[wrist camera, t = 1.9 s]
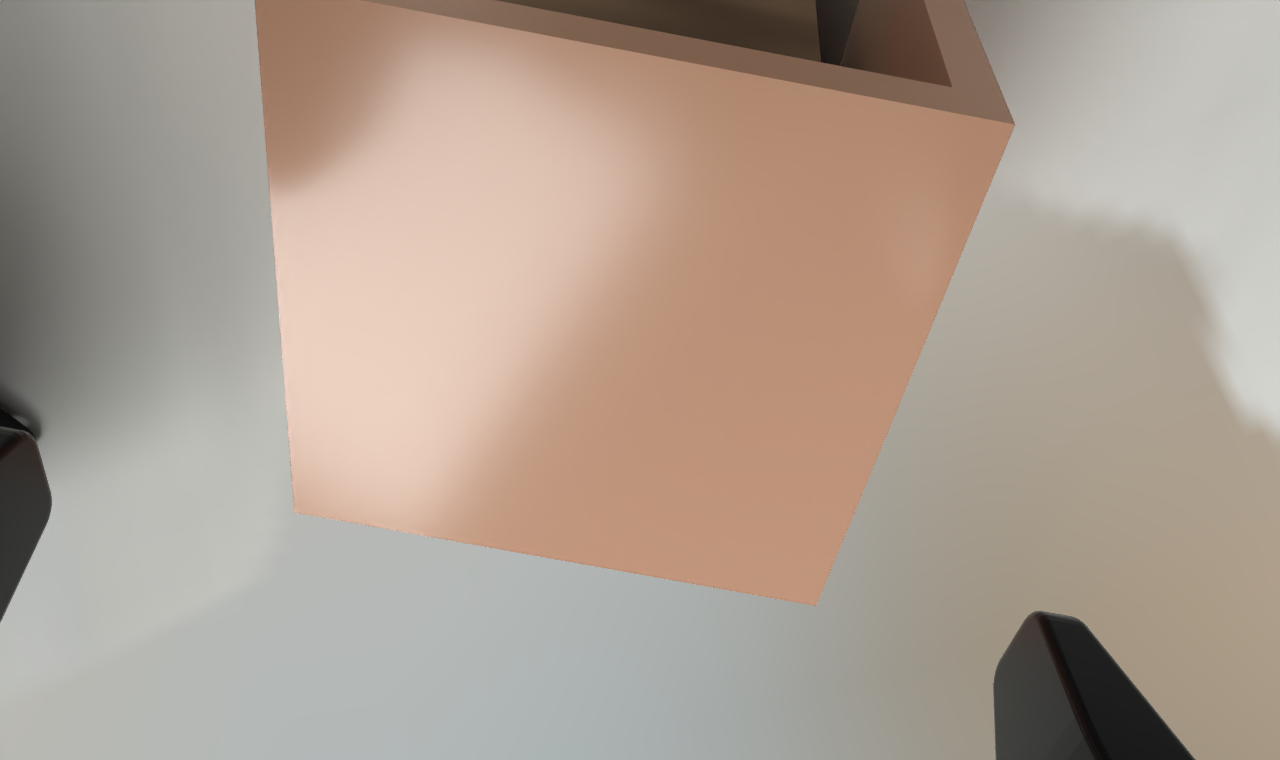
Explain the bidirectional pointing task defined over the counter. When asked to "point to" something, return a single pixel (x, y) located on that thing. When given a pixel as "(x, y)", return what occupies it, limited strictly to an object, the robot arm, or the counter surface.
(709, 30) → the walnut block
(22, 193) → the counter surface
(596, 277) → the terracotta hood
